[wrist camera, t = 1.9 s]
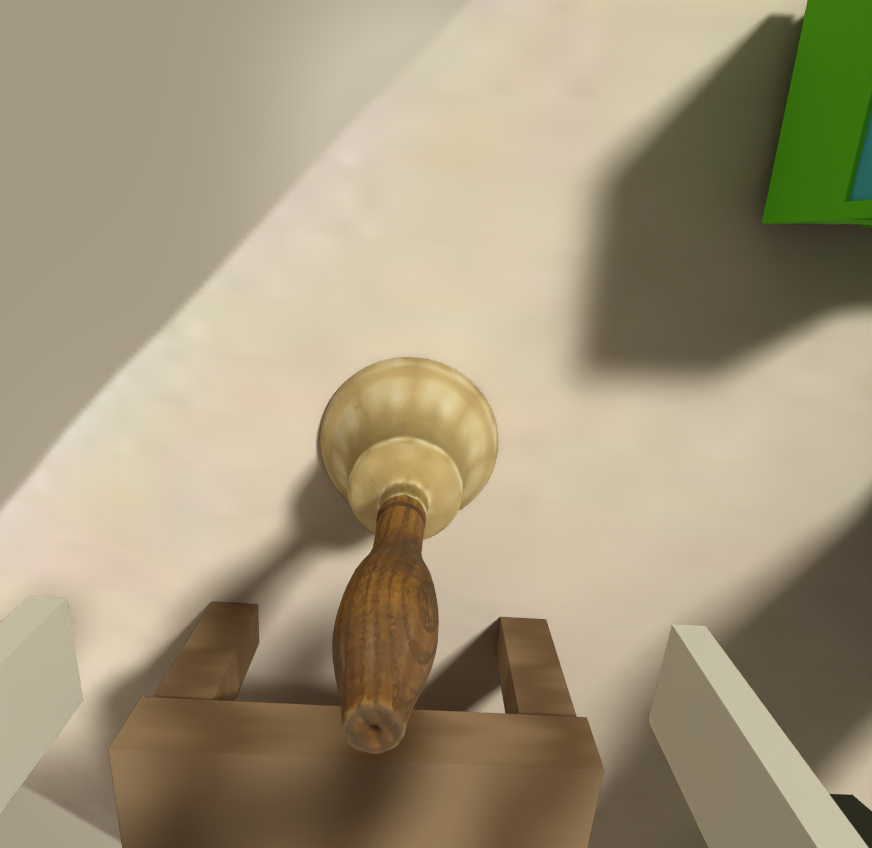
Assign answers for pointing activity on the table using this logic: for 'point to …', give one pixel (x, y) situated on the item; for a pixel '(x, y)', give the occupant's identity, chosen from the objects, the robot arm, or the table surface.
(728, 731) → the robot arm
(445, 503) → the hand bell
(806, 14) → the toy car
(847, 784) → the table surface
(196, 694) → the walnut stool
